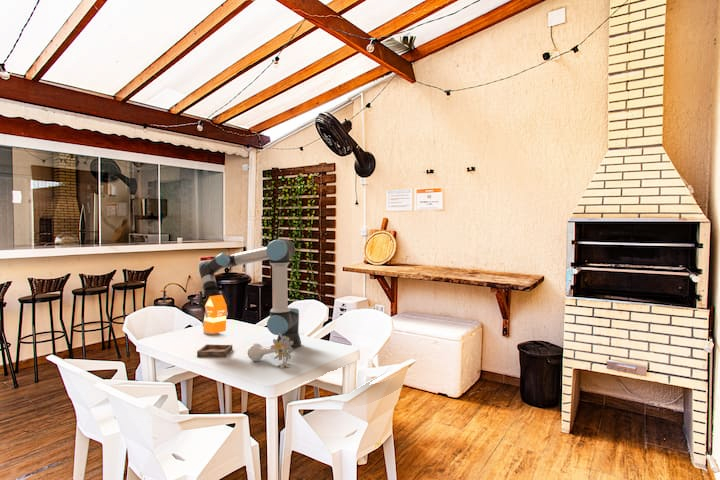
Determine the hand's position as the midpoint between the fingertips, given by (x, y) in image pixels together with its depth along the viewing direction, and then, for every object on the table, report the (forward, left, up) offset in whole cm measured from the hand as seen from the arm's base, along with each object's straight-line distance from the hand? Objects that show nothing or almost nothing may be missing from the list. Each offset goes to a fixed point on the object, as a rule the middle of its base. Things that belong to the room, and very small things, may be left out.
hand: (217, 316), depth 230 cm
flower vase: (-33, +14, -22) cm, 41 cm away
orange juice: (+2, -3, -9) cm, 10 cm away
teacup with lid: (+21, -49, -22) cm, 58 cm away
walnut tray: (+1, -2, -21) cm, 22 cm away
